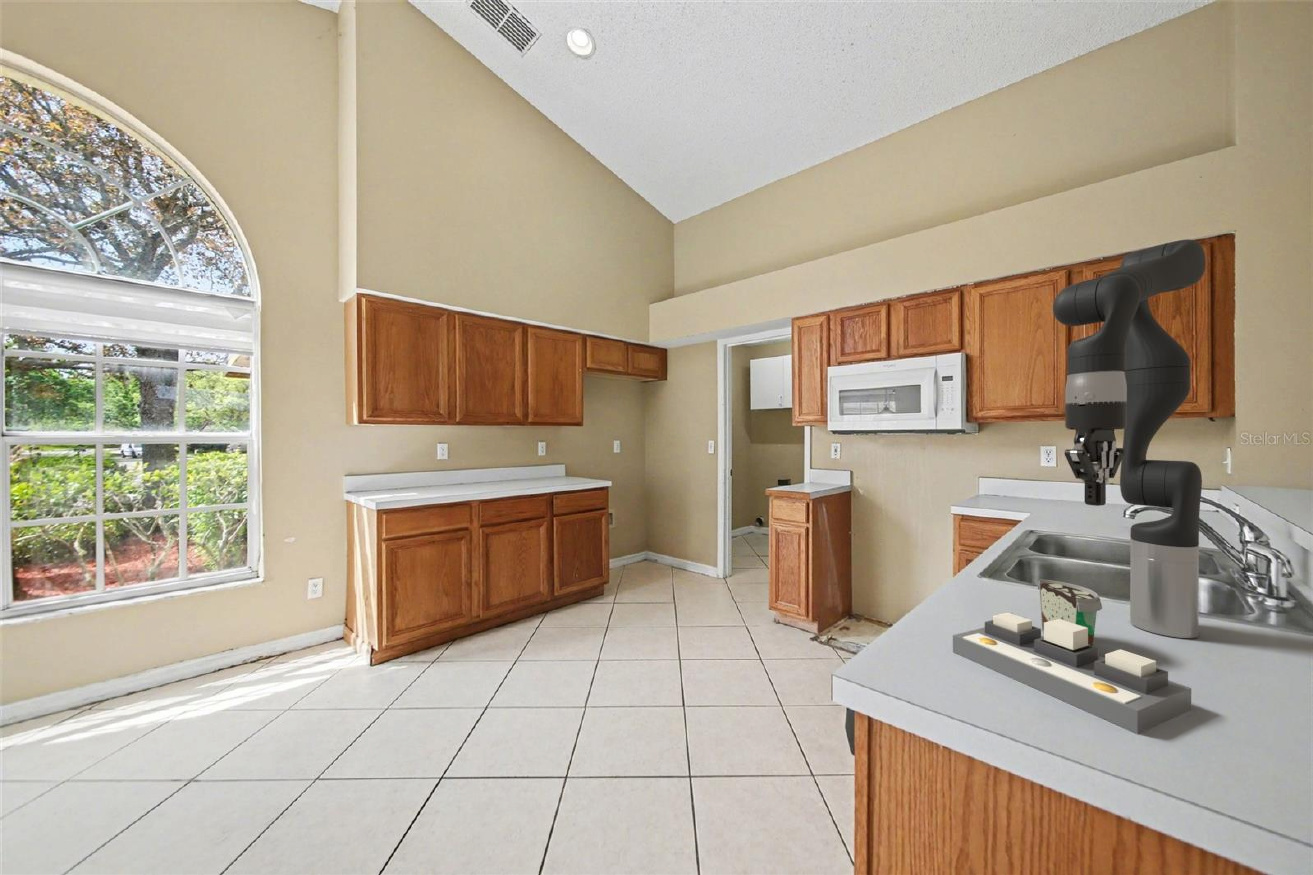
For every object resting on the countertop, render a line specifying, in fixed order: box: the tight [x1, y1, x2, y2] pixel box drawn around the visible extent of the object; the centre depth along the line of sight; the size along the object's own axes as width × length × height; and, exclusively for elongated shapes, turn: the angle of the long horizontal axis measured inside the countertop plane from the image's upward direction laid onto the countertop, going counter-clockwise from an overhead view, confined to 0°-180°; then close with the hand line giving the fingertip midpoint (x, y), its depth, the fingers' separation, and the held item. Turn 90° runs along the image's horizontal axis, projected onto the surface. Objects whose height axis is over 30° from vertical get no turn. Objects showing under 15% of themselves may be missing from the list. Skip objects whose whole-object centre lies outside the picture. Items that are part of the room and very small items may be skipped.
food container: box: [1037, 579, 1103, 647], centre depth 88 cm, size 12×6×10 cm, turn 168°
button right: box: [1104, 648, 1157, 678], centre depth 69 cm, size 4×4×3 cm
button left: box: [992, 612, 1033, 633], centre depth 84 cm, size 4×4×3 cm
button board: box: [952, 619, 1192, 735], centre depth 76 cm, size 14×25×5 cm, turn 22°
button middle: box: [1043, 619, 1088, 650], centre depth 76 cm, size 4×4×3 cm
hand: (1094, 504), depth 79 cm, fingers closed
